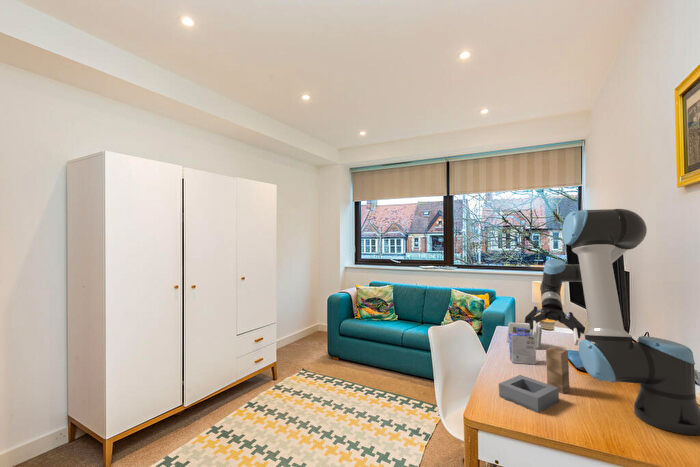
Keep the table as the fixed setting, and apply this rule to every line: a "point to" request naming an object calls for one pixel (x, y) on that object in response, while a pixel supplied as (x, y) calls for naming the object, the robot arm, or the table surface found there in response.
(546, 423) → the table surface
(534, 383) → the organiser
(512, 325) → the digital clock
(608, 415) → the table surface
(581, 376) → the table surface
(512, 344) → the ink cartridge box
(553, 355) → the walnut block
